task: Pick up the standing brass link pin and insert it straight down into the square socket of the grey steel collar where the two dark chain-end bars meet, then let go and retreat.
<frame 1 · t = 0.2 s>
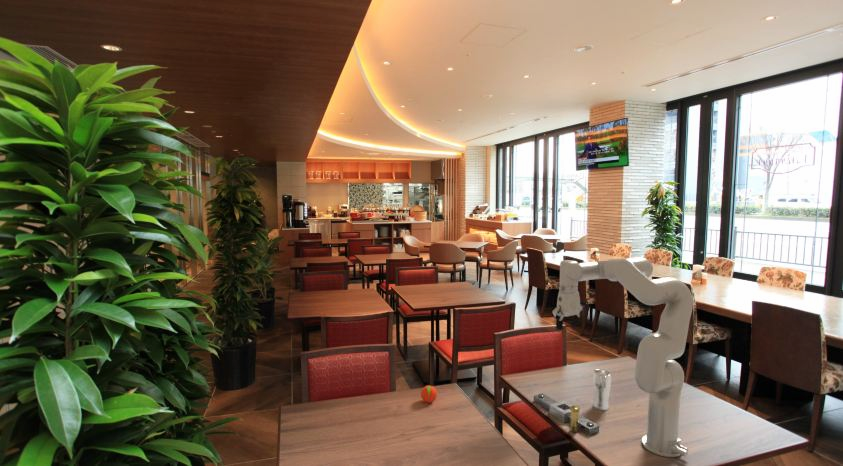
hand: (567, 327, 189), 31 cm above the table, fingers open, 9 cm apart
red tomato: (428, 402, 186), on the table
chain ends: (564, 415, 175), on the table
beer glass: (601, 407, 182), on the table
link pin: (574, 430, 163), on the table
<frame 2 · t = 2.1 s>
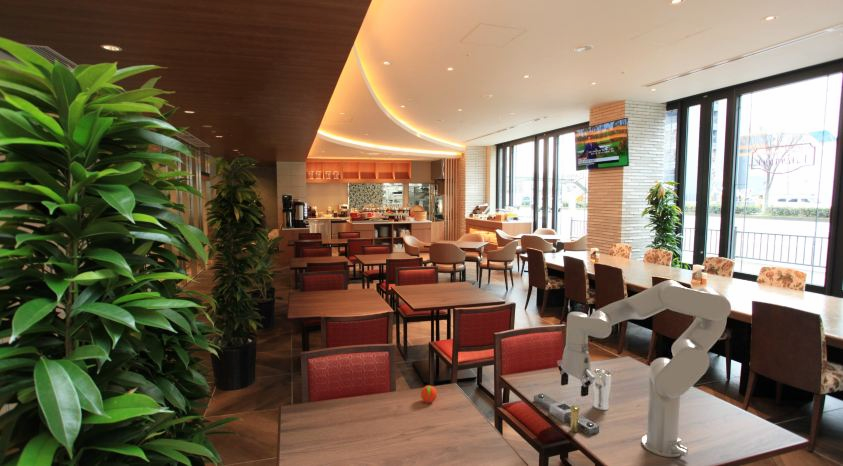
hand: (574, 390, 162), 16 cm above the table, fingers open, 9 cm apart
nothing on the table moved.
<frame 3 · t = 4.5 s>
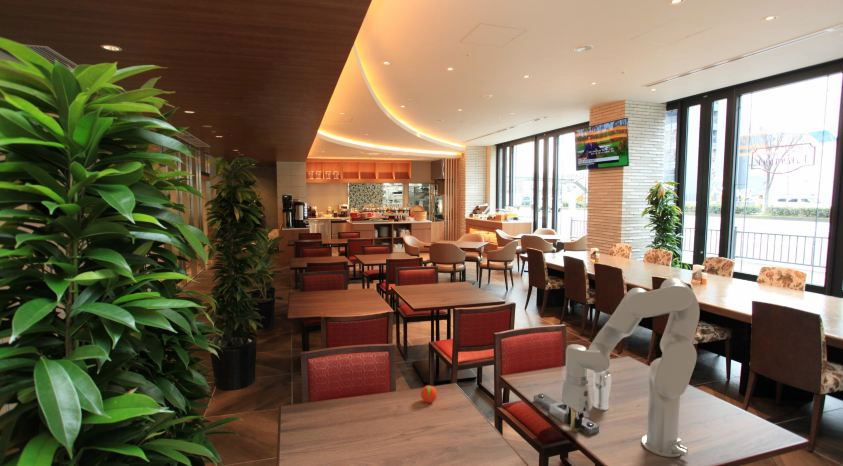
hand: (574, 425, 163), 2 cm above the table, fingers closed on link pin, 2 cm apart
link pin: (574, 430, 163), on the table, touching gripper
everything else where it was.
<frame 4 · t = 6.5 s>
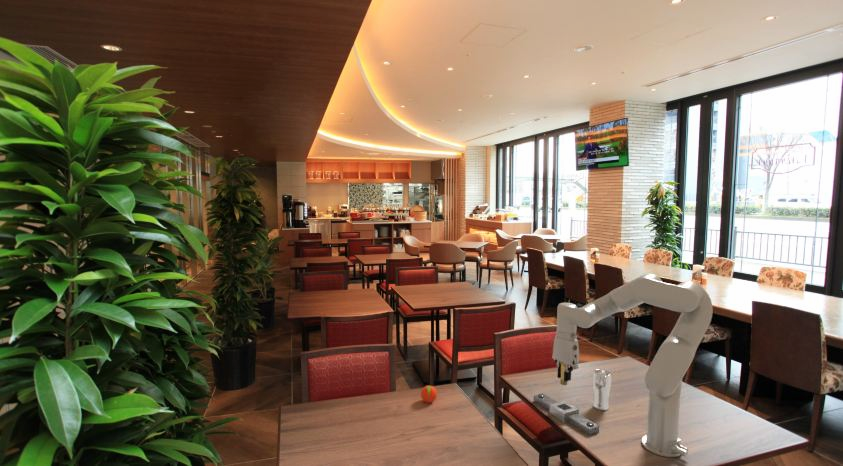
hand: (564, 378, 173), 15 cm above the table, fingers closed on link pin, 2 cm apart
link pin: (563, 383, 174), point 13 cm above the table, touching gripper
everything else where it was.
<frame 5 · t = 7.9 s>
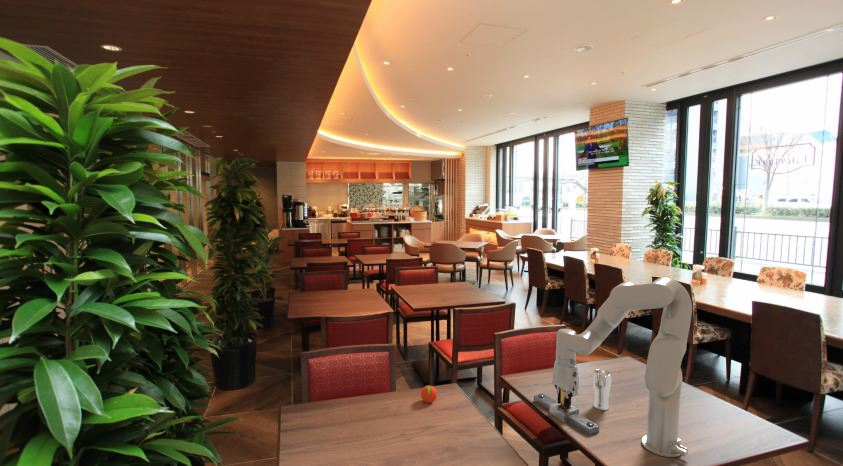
hand: (564, 404, 174), 5 cm above the table, fingers closed on link pin, 2 cm apart
link pin: (563, 409, 174), point 2 cm above the table, touching gripper
everything else where it was.
when the fingers open (4 cm above the table, at t = 8.8 s): link pin drops 2 cm, resting in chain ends.
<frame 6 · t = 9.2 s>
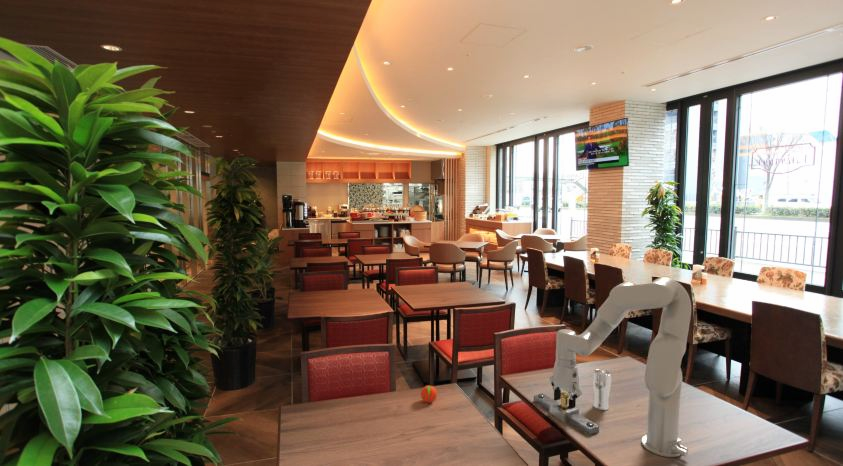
hand: (564, 403, 174), 5 cm above the table, fingers open, 7 cm apart
link pin: (564, 415, 174), resting in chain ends
everything else where it was.
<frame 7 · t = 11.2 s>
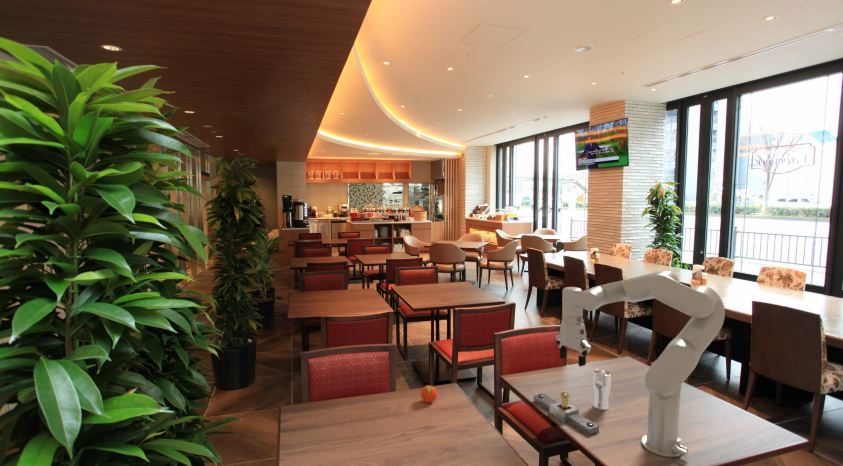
hand: (572, 361, 171), 23 cm above the table, fingers open, 9 cm apart
nothing on the table moved.
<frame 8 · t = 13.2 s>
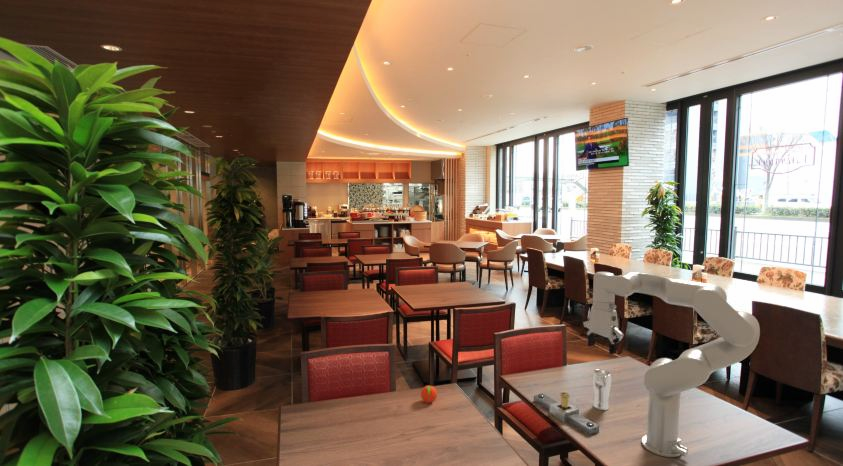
hand: (601, 349, 164), 30 cm above the table, fingers open, 9 cm apart
nothing on the table moved.
at the end: link pin 0.2 cm off-centre on the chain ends, point 0.0 cm above the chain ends's base; link pin tilted 0°; the gripper is holding nothing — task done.
